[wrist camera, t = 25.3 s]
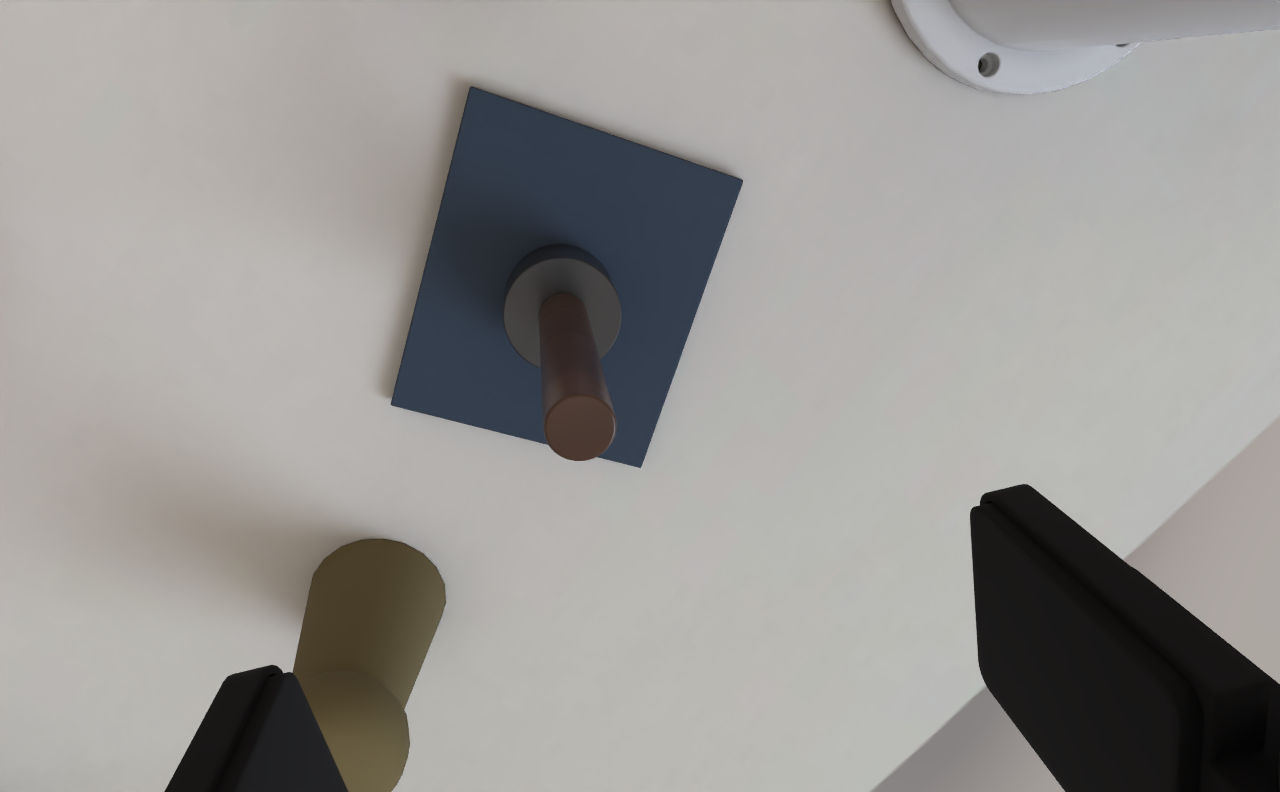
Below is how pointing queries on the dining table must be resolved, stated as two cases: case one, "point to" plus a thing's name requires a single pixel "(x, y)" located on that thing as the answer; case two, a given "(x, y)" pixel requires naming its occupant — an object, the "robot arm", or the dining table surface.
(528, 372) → the mat
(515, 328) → the brush
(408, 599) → the olive game pawn
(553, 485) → the dining table surface
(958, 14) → the robot arm
